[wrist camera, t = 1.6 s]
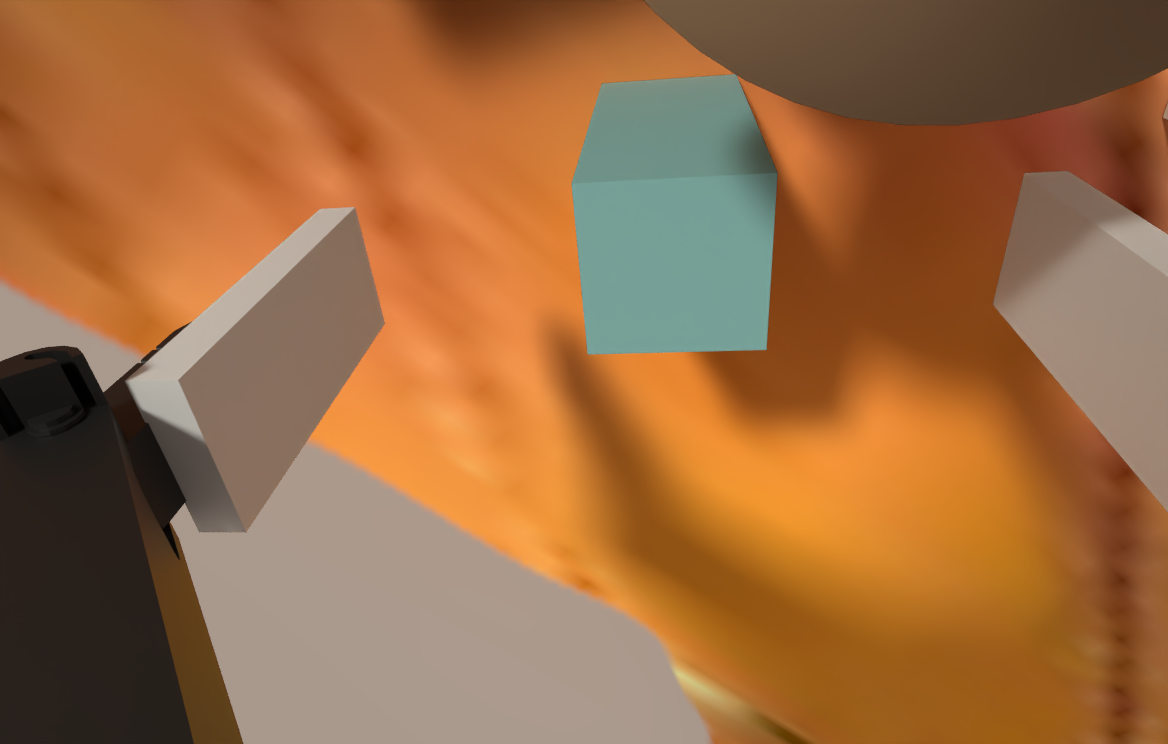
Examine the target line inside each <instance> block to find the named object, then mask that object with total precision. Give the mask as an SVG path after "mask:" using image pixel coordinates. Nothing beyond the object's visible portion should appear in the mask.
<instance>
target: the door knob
mask: <svg viewBox="0 0 1168 744" xmlns="http://www.w3.org/2000/svg"><path fill="white" fill-rule="evenodd" d="M644 1H645V2H646V3H647V4H648V5H649V6H650V8H651V9H652V10H653V11H654V12H655V13H656V14H657V15H658V16H659V17H660V18H662V19H663V20H664V21H665V22H666V23H667V24H669V25H670V26H671V27H672V28H673V29H674V30H676V31H677V32H678V33H679V34H680V35H681V36H682V37H684V38H685V39H686V40H687V41H688V42H689V43H691V44H692V45H693V46H694V47H695V48H696V49H698V50H699V51H700V52H702V53H703V54H705V55H706V56H708V57H710V58H711V59H713V60H714V61H716V62H717V63H719V64H720V65H722V66H724V67H725V68H727V69H728V70H730V71H731V72H733V73H735V74H736V75H738V76H739V77H741V78H742V79H744V80H746V81H748V82H750V83H752V84H754V85H757V86H759V87H761V88H763V89H766V90H768V91H770V92H772V93H774V94H777V95H779V96H781V97H783V98H786V99H788V100H790V101H792V102H794V103H798V104H801V105H805V106H808V107H812V108H815V109H819V110H822V111H826V112H829V113H833V114H836V115H840V116H843V117H847V118H854V119H861V120H868V121H876V122H883V123H890V124H897V125H964V124H972V123H980V122H989V121H997V120H1005V119H1013V118H1019V117H1023V116H1027V115H1032V114H1036V113H1040V112H1044V111H1048V110H1052V109H1056V108H1061V107H1065V106H1069V105H1073V104H1077V103H1080V102H1083V101H1086V100H1089V99H1091V98H1094V97H1097V96H1100V95H1103V94H1105V93H1108V92H1111V91H1114V90H1117V89H1120V88H1122V87H1125V86H1128V85H1131V84H1134V83H1136V82H1139V81H1142V80H1144V79H1146V78H1148V77H1150V76H1153V75H1155V74H1157V73H1159V72H1161V71H1163V70H1165V69H1167V68H1168V0H644Z"/></svg>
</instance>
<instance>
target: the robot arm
mask: <svg viewBox="0 0 1168 744" xmlns="http://www.w3.org/2000/svg"><path fill="white" fill-rule="evenodd" d="M993 305H994V307H995V308H996V309H997V310H998V311H999V313H1000V314H1001V315H1002V316H1003V317H1004V318H1005V320H1006V321H1007V322H1008V323H1009V324H1010V326H1011V327H1012V328H1013V329H1014V330H1015V332H1016V333H1017V334H1018V335H1019V336H1020V337H1021V339H1022V340H1023V341H1024V342H1025V343H1026V345H1027V346H1028V347H1029V348H1030V349H1031V351H1032V352H1033V353H1034V354H1035V355H1036V356H1037V358H1038V359H1039V360H1040V361H1041V362H1042V364H1043V365H1044V366H1045V367H1046V368H1047V369H1048V371H1049V372H1050V373H1051V374H1052V375H1053V377H1054V378H1055V379H1056V380H1057V381H1058V383H1059V384H1060V385H1061V386H1062V387H1063V388H1064V390H1065V391H1066V392H1067V393H1068V394H1069V396H1070V397H1071V398H1072V399H1073V400H1074V402H1075V403H1076V404H1077V405H1078V406H1079V407H1080V409H1081V410H1082V411H1083V412H1084V413H1085V415H1086V416H1087V417H1088V418H1089V419H1090V420H1091V422H1092V423H1093V424H1094V425H1095V426H1096V428H1097V429H1098V430H1099V431H1100V432H1101V434H1102V435H1103V436H1104V437H1105V438H1106V439H1107V441H1108V442H1109V443H1110V444H1111V445H1112V447H1113V448H1114V449H1115V450H1116V451H1117V453H1118V454H1119V455H1120V456H1121V457H1122V458H1123V460H1124V461H1125V462H1126V463H1127V464H1128V466H1129V467H1130V468H1131V469H1132V470H1133V471H1134V473H1135V474H1136V475H1137V476H1138V477H1139V479H1140V480H1141V481H1142V482H1143V483H1144V485H1145V486H1146V487H1147V488H1148V489H1149V490H1150V492H1151V493H1152V494H1153V495H1154V496H1155V498H1156V499H1157V500H1158V501H1159V502H1160V504H1161V505H1162V506H1163V507H1164V508H1165V509H1166V511H1167V512H1168V234H1166V233H1165V232H1163V231H1162V230H1160V229H1158V228H1157V227H1155V226H1154V225H1152V224H1151V223H1149V222H1147V221H1146V220H1144V219H1143V218H1141V217H1140V216H1138V215H1137V214H1135V213H1133V212H1132V211H1130V210H1129V209H1127V208H1126V207H1124V206H1122V205H1121V204H1119V203H1118V202H1116V201H1115V200H1113V199H1111V198H1110V197H1108V196H1107V195H1105V194H1104V193H1102V192H1101V191H1099V190H1097V189H1096V188H1094V187H1093V186H1091V185H1090V184H1088V183H1086V182H1085V181H1083V180H1082V179H1080V178H1079V177H1077V176H1076V175H1074V174H1072V173H1071V172H1069V171H1054V172H1035V173H1024V177H1023V181H1022V185H1021V189H1020V193H1019V197H1018V202H1017V206H1016V210H1015V214H1014V218H1013V222H1012V227H1011V231H1010V235H1009V239H1008V243H1007V247H1006V252H1005V256H1004V260H1003V264H1002V268H1001V272H1000V276H999V281H998V285H997V289H996V293H995V297H994V301H993ZM384 324H385V322H384V318H383V314H382V310H381V306H380V302H379V299H378V295H377V291H376V287H375V283H374V279H373V275H372V271H371V267H370V264H369V260H368V256H367V252H366V248H365V244H364V240H363V236H362V232H361V228H360V225H359V221H358V217H357V213H356V209H355V207H349V208H329V209H320V210H318V211H317V212H316V213H315V214H314V215H313V216H312V217H310V218H309V219H308V220H307V221H306V222H305V223H304V224H303V225H301V226H300V227H299V228H298V229H297V230H296V231H295V232H293V233H292V234H291V235H290V236H289V237H288V238H287V239H285V240H284V241H283V242H282V243H281V244H280V245H279V246H278V247H276V248H275V249H274V250H273V251H272V252H271V253H270V254H268V255H267V256H266V257H265V258H264V259H263V260H262V261H261V262H259V263H258V264H257V265H256V266H255V267H254V268H253V269H251V270H250V271H249V272H248V273H247V274H246V275H245V276H243V277H242V278H241V279H240V280H239V281H238V282H237V283H236V284H234V285H233V286H232V287H231V288H230V289H229V290H228V291H226V292H225V293H224V294H223V295H222V296H221V297H220V298H219V299H217V300H216V301H215V302H214V303H213V304H212V305H211V306H209V307H208V308H207V309H206V310H205V311H204V312H203V313H201V314H200V315H199V316H198V317H197V318H196V319H195V320H194V321H192V322H190V323H188V324H186V325H185V326H183V327H181V328H179V329H177V330H175V331H174V332H173V333H172V334H170V335H169V336H168V337H167V338H166V339H165V340H164V341H162V342H161V343H160V344H159V345H158V346H157V347H156V348H157V349H156V350H152V351H151V352H150V353H149V354H147V355H146V356H145V357H144V358H143V359H142V360H141V363H137V364H136V365H135V366H134V367H132V368H131V369H130V370H129V371H128V372H127V373H126V374H124V375H123V376H122V377H121V378H120V379H119V380H117V381H116V382H115V383H114V384H113V385H112V386H111V387H110V388H108V389H107V390H106V391H105V392H104V393H103V392H102V390H101V388H100V386H99V384H98V382H97V380H96V378H95V376H94V374H93V372H92V370H91V369H90V367H89V365H88V363H87V361H86V359H85V357H84V355H83V353H82V352H81V351H80V350H79V349H78V348H75V347H69V346H56V347H46V348H41V349H37V350H33V351H28V352H24V353H22V354H19V355H16V356H13V357H11V358H8V359H5V360H3V361H1V362H0V744H243V741H242V738H241V735H240V732H239V728H238V725H237V722H236V719H235V716H234V712H233V709H232V706H231V703H230V700H229V697H228V693H227V690H226V687H225V684H224V681H223V678H222V675H221V671H220V668H219V665H218V661H217V659H216V655H215V652H214V649H213V646H212V642H211V639H210V636H209V633H208V630H207V627H206V623H205V620H204V617H203V614H202V611H201V607H200V605H199V602H198V598H197V595H196V592H195V589H194V586H193V582H192V579H191V576H190V573H189V570H188V567H187V563H186V560H185V557H184V554H183V551H182V547H181V544H180V541H179V538H178V536H177V534H176V532H175V531H174V529H173V527H172V525H171V523H170V520H171V519H172V518H173V517H174V515H175V514H176V513H177V512H178V510H179V509H180V508H181V507H182V505H183V504H184V503H185V504H186V506H187V508H188V510H189V512H190V514H191V516H192V518H193V520H194V522H195V525H196V527H197V528H198V531H199V532H247V530H248V529H249V527H250V526H251V524H252V523H253V521H254V520H255V518H256V516H257V515H258V514H259V512H260V510H261V509H262V508H263V506H264V505H265V503H266V502H267V500H268V499H269V497H270V495H271V494H272V493H273V491H274V489H275V488H276V487H277V485H278V484H279V482H280V481H281V479H282V477H283V476H284V475H285V473H286V472H287V470H288V469H289V467H290V466H291V464H292V463H293V461H294V460H295V458H296V457H297V455H298V454H299V452H300V451H301V449H302V448H303V446H304V445H305V443H306V442H307V440H308V439H309V437H310V436H311V434H312V432H313V431H314V429H315V428H316V426H317V425H318V423H319V422H320V420H321V419H322V417H323V416H324V414H325V413H326V411H327V410H328V408H329V407H330V405H331V404H332V402H333V401H334V399H335V398H336V396H337V395H338V393H339V392H340V390H341V389H342V387H343V386H344V384H345V383H346V381H347V380H348V378H349V377H350V375H351V374H352V372H353V371H354V369H355V368H356V366H357V365H358V363H359V362H360V360H361V359H362V357H363V356H364V354H365V353H366V351H367V350H368V348H369V347H370V345H371V344H372V342H373V341H374V339H375V338H376V336H377V335H378V333H379V332H380V330H381V329H382V327H383V326H384Z"/></svg>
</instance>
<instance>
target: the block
mask: <svg viewBox="0 0 1168 744" xmlns="http://www.w3.org/2000/svg"><path fill="white" fill-rule="evenodd" d="M776 189H777V170H776V168H775V165H774V163H773V161H772V158H771V156H770V154H769V151H768V149H767V147H766V144H765V142H764V139H763V137H762V135H761V132H760V130H759V128H758V125H757V123H756V120H755V118H754V116H753V113H752V111H751V109H750V106H749V104H748V102H747V99H746V97H745V94H744V92H743V90H742V87H741V85H740V83H739V80H738V78H737V75H736V74H733V75H718V76H703V77H689V78H674V79H660V80H645V81H631V82H616V83H602V85H601V88H600V91H599V95H598V98H597V101H596V105H595V108H594V111H593V115H592V118H591V121H590V124H589V128H588V131H587V134H586V138H585V141H584V144H583V148H582V151H581V154H580V157H579V161H578V164H577V167H576V171H575V174H574V177H573V181H572V193H573V203H574V214H575V225H576V235H577V246H578V257H579V267H580V278H581V289H582V299H583V310H584V320H585V331H586V342H587V352H588V354H622V353H662V352H702V351H742V350H767V334H768V317H769V301H770V285H771V269H772V253H773V237H774V221H775V205H776Z"/></svg>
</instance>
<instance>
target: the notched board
mask: <svg viewBox="0 0 1168 744" xmlns="http://www.w3.org/2000/svg"><path fill="white" fill-rule="evenodd" d="M1163 118H1165V119H1167V120H1168V104H1167V107H1166V110H1165V112H1164V115H1163Z"/></svg>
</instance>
